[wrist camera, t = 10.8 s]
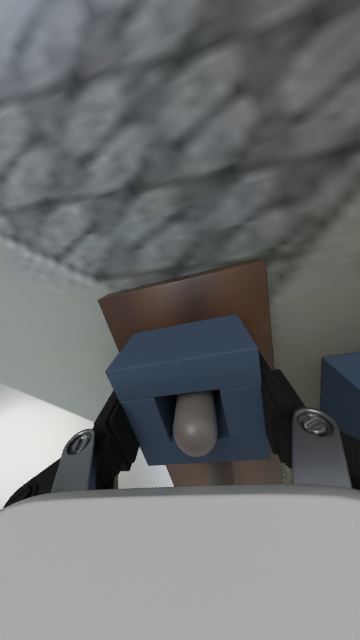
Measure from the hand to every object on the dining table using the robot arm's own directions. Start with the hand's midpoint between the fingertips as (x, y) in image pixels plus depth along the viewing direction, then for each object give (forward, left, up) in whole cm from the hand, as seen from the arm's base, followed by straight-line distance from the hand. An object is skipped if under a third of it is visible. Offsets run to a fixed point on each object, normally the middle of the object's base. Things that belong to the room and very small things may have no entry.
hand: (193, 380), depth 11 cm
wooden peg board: (0, +5, -3) cm, 6 cm away
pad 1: (0, 0, -1) cm, 1 cm away
